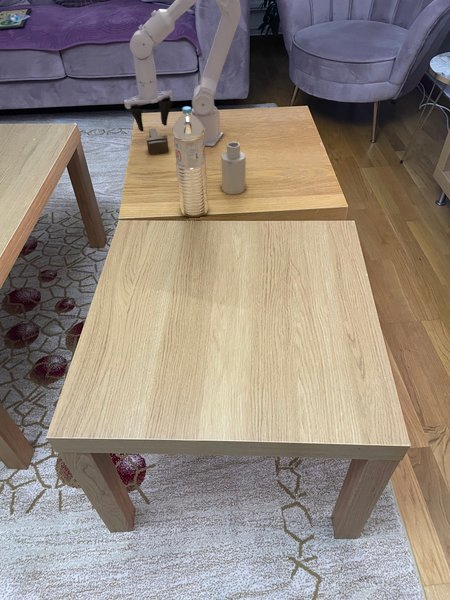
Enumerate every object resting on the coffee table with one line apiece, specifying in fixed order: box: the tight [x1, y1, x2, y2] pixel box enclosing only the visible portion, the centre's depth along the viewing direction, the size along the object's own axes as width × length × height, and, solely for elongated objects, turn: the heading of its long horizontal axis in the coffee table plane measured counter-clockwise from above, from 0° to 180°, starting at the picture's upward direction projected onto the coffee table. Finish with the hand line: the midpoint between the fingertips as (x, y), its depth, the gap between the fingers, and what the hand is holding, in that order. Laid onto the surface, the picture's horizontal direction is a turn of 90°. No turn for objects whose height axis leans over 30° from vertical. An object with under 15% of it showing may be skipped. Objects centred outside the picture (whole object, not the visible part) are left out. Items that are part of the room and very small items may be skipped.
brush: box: [145, 128, 170, 156], centre depth 135 cm, size 6×12×4 cm, turn 15°
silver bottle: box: [220, 141, 247, 195], centre depth 114 cm, size 6×6×12 cm
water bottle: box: [172, 105, 209, 218], centre depth 102 cm, size 7×7×25 cm
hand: (152, 127), depth 136 cm, fingers open, 7 cm apart
